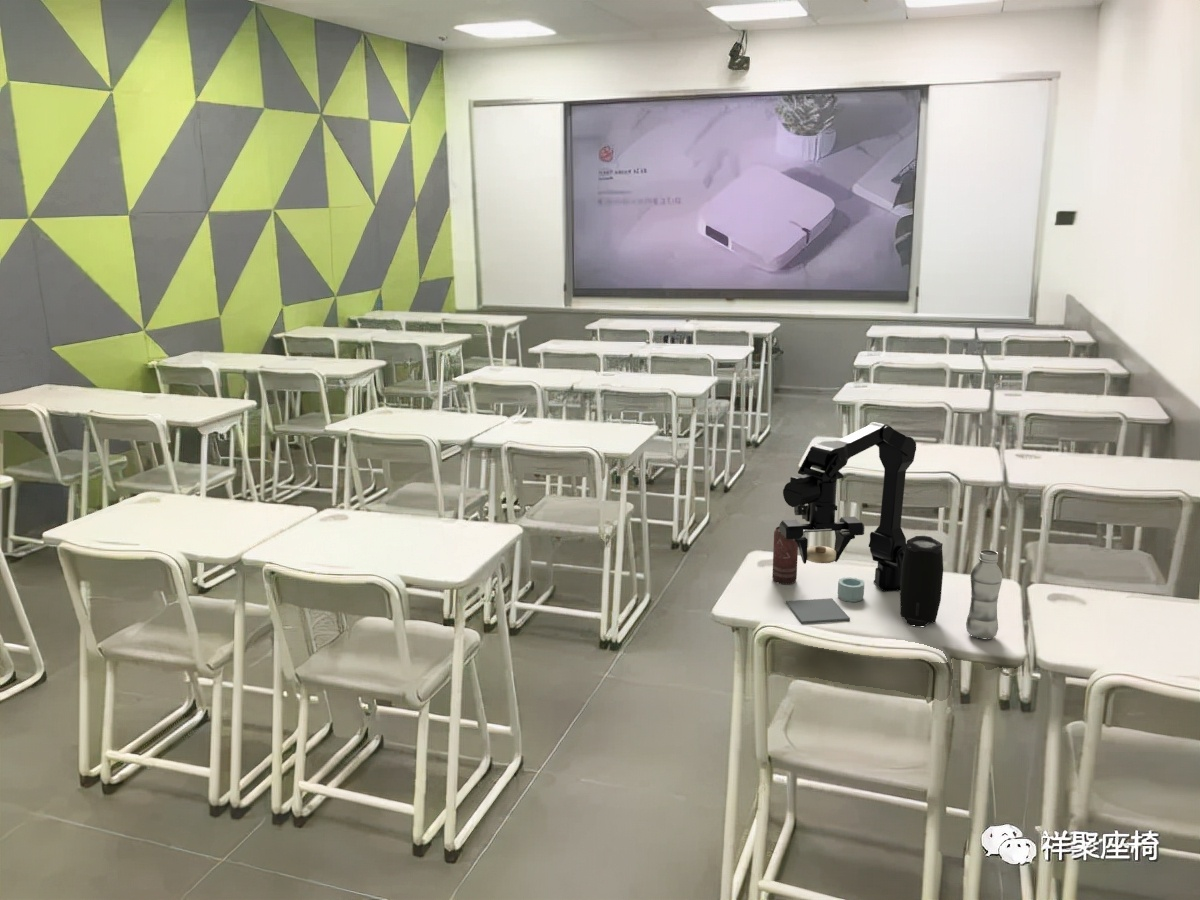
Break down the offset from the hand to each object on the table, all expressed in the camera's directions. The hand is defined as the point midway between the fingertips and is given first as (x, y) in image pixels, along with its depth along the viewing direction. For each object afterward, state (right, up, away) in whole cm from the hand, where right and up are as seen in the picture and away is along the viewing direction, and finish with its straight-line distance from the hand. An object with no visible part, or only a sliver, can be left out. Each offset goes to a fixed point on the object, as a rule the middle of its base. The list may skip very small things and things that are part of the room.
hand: (819, 562), depth 221 cm
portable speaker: (+22, -14, -2) cm, 26 cm away
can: (-4, -7, +22) cm, 24 cm away
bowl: (+10, -10, +11) cm, 18 cm away
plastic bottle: (+34, -16, -10) cm, 38 cm away
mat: (0, -12, +3) cm, 13 cm away
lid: (0, +1, 0) cm, 1 cm away
